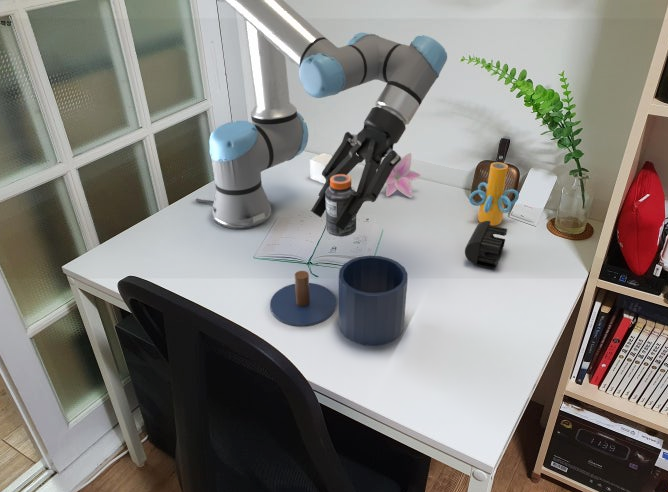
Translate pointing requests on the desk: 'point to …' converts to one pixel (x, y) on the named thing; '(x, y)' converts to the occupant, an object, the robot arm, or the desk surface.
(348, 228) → the pill bottle
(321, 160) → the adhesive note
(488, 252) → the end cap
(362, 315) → the canister
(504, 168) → the yellow tubular piece
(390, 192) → the lily
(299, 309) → the lid
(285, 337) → the desk surface
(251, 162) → the robot arm
